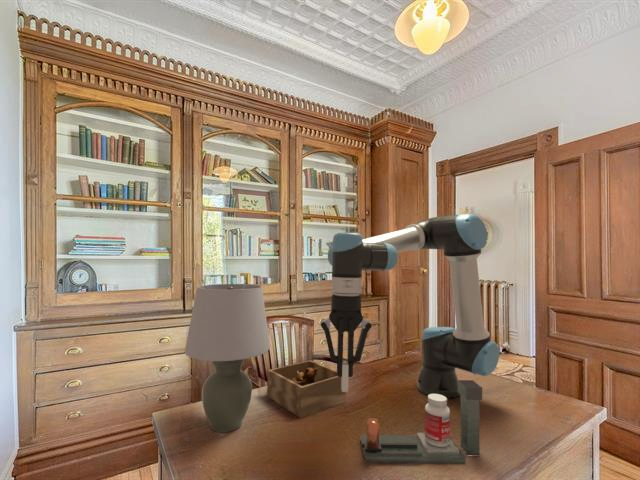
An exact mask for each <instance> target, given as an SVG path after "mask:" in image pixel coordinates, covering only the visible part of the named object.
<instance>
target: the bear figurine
mask: <svg viewBox="0 0 640 480" xmlns="http://www.w3.org/2000/svg"><path fill="white" fill-rule="evenodd" d="M316 371H317V368H316V367H315V369H313V368H308V367H307V368H306V369H305V372H304V373H303V372H299V373H298V371H297V379H296V378H293V379H292V381H293V382H295V383H297V384H299V385H301V386H305V385H308V384H312V383H315V379H314V378H315V375H316Z"/></svg>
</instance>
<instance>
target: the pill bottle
mask: <svg viewBox="0 0 640 480" xmlns="http://www.w3.org/2000/svg"><path fill="white" fill-rule="evenodd" d="M427 402H428V403H426V405H425V406H424V433H425V439H426V441H427V442H428V443H429V444H431V445H433V446H437V447H446V446H448V445H449V444H450V437H451V409H450V408H449V407H448V406H447V404H448V398H446V397H445V396H443V395H440V394H429V395H427Z"/></svg>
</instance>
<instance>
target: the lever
mask: <svg viewBox="0 0 640 480" xmlns="http://www.w3.org/2000/svg"><path fill="white" fill-rule="evenodd" d="M366 435H367V443H364V449H365V451H379V452H382V448H381V445H380V443H379V435H380V420H379V419H378V418H375V417H370V418H367V419H366Z"/></svg>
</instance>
